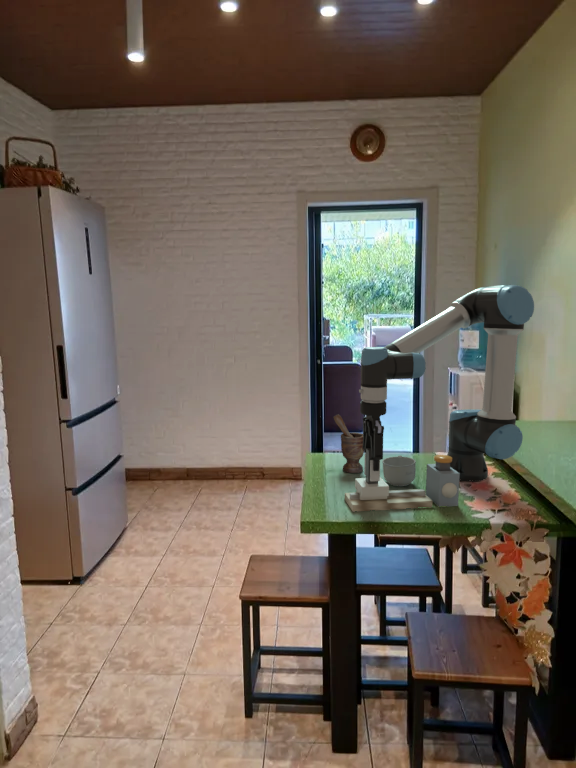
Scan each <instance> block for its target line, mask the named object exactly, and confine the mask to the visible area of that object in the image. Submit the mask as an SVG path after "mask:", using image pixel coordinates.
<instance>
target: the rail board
mask: <svg viewBox="0 0 576 768" xmlns="http://www.w3.org/2000/svg"><path fill="white" fill-rule="evenodd" d="M344 501H345V502H346V503H347V506H348V507H349V508H350V510H351V511H352V512H353V513H354V512H355V511H357V512H369V511H370V510H371V511H372V510H375V511H391V510H390V509H393V510H407V509H406V508H411V509H419V508H418V507H429V508H433V503H434V502H433V501H432V500H431V499H430V498H429V497H428V496H427V495H426V489H423V488H422V489H420V488H418V489H417V488H414V489H413V488H412V489H398V490H396V489H395V490H393V489H392V490H389V496H387V499H374V500H360V494H359V493H356V491H354V492H344ZM371 511H370V512H371Z"/></svg>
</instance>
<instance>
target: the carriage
mask: <svg viewBox="0 0 576 768" xmlns="http://www.w3.org/2000/svg"><path fill="white" fill-rule="evenodd" d="M371 457H372V456H371V448H366V475H365V477H361V478H360V477H359V478H358V477H357V478H355V479H354V489H355V492H356V493H359V494H360V500H374V499H387V496H389V491H390V486H389V483H388V482H387V481H386V480H385V479H383V478H382V477H381V476H380V481H370V460H369V458H371Z"/></svg>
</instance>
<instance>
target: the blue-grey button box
mask: <svg viewBox="0 0 576 768" xmlns="http://www.w3.org/2000/svg"><path fill="white" fill-rule="evenodd" d="M459 476H460V473H458V472H457V471H456V470H454V469H453V468H451V467H450V471H438V470H437V469H436V463H427V464H426V477H425V482H426V483H425V491H426V495H427V496H428V497H429V498H430V499H431V500H432V501H433V502H432V503H434V504H435V505H436V506H437V507H438V506H439V508H441V507H440V506H447V507H458V506H459V496H460V495H459V494H460V480H459Z"/></svg>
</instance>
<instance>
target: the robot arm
mask: <svg viewBox="0 0 576 768" xmlns="http://www.w3.org/2000/svg"><path fill="white" fill-rule="evenodd" d="M534 311H535V301H534V298H533V296H532V294H531V293H530V292H529V290H528V289H527V288H525V287H523V286H521V285H518V284H517V285H516V284H504V285H503V284H502V285H485V286H481V287H478V288H476V289H473V290H471V291H470V292H467V293H466V294H464V295H462V296H461V297H459V298H457V299H456V300H454V301H452V302H451V303H450V304H449V306H448V308H447V309H444V310H443V311H442V312H440V313H439V314H436V316H434V317H432V318H430V319H429V320H426V321H425V322H423V323H421V324H420V325H419V326H417V327H416V328H414V329H412V330H411V331H409V332H407V333H406V334H403V335H402V336H400V337H399V338H397V339H395V340H394V341H392V342H391V343H389V344H387V345H385V346H384V347H382V346H367V347H363V349H362V350H361V355H360V356H361V357H360V362H359V363H360V389H358V393H359V394H360V399H361V401H360V405H359V408H360V409H359V412H360V414H361V415H364V416H363V417H362V426H363V427H362V434H363V446H362V447H363V449H364V467H363V468H364V469H363V471H364V475H365V476H366V448H371V456H372V457H371V458H369V460H370V481H380V477H381V460H384V432H385V426H384V425H382V421H381V416H385V415H386V414H387V402H386V400H387V399H388V380H390V381H391V380H403V379H405V380H406V379H411V380H412V379H416V378H421V377H422V376H423V375H424V374H425V373H426V366H427V365H426V364H427V363H426V359H425V357H424V355H423V354H421V353H422V352H423V351H425V350H427V349H428V348H430V347H432V346H433V345H435V344H437V343H438V342H441V340H443V339H444V338H447V337H448V336H449V335H452V334H453V333H455V332H456V331H458V330H459V329H468V327H470V326H473V325H475V324H480V323H483V330H484V331H485V332H486V333H487V348H486V359H485V361H486V362H485V370H484V371H485V372H484V373H485V374H484V385H483V398H482V399H483V400H482V408H481V409H476V408H475V409H472V408H470V409H465V408H464V409H455V410H453V411H451V412H450V414H449V421H448V423H449V424H448V425H449V426H448V429H449V430H448V449H447V450H448V451H447V456H450V457H452V462H451V463H450V467H451V468H453V469H454V470H456V471H457V472H458V473H460V476H459V482H460V481H461V482H481V481H485V480H487V479H488V476H489V470H488V467H487V462H486V459H485V455H486V456H487V457H490V458H494V459H499V460H508V459H509V458H511V457H513V456H514V455H515V454H516V453H518V451H519V450H520V449H521V446H522V443H523V439H524V438H523V437H524V436H523V431H522V430H521V428H520V427H519V426H517V425H516V421H517V415H515V413H514V412H513V411H512V407H513V395H514V394H513V393H514V386H515V385H514V384H515V371H516V361H517V360H516V359H517V349H518V347H517V346H518V338H519V337H518V336H519V335H520V334H521V333H522V332H523V331H524V329H525V324H526V323H527V322H529V321H530V320H531V318H532V317H533V314H534Z"/></svg>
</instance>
